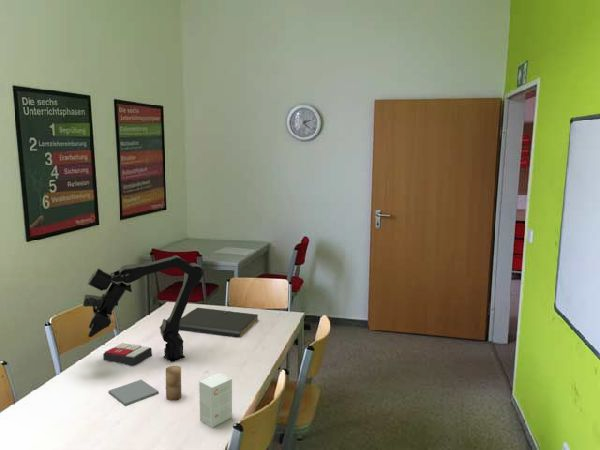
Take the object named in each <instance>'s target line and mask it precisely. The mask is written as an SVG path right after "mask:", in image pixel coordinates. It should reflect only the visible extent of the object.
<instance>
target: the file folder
mask: <svg viewBox="0 0 600 450" xmlns="http://www.w3.org/2000/svg"><path fill="white" fill-rule="evenodd" d="M258 317H259V315H258V314H255V313H248V312H239V311H231V310H223V309H222V310H221V309H214V308H206V307H205V308H204V307H196V308H195V309H192V310H190V311H189V312H187V314H185V315H183V316H182V317H181V320H180V326H179V331H187V332H194V333H202V334H209V335H216V336H217V335H218V336H223V337H225V336H226V337H231V336H232V337H233V338H238V337H240V336H241V335H242V334H243V335H244V334H246V333H247V331H249V330H250V329H251V328H252V327H253V326H254V325H255V324H256V323H257V322H258V319H259V318H258ZM256 321H257V322H256ZM255 322H256V323H255ZM254 323H255V324H254ZM253 324H254V325H253ZM252 325H253V326H252ZM251 326H252V327H251ZM250 327H251V328H250ZM249 328H250V329H249ZM243 335H242V336H243ZM242 336H241V337H242ZM241 337H240V338H241Z"/></svg>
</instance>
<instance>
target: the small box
mask: <svg viewBox="0 0 600 450" xmlns="http://www.w3.org/2000/svg"><path fill="white" fill-rule="evenodd" d="M198 382H199V383H198V385H199V387H198V389H199V391H198V393H199V420H200V421H201V422H202V423H203V424H205V425H207V426H208V427H211V428H212V429H213V428H215V427H216V426H218V425H221V424H222V423H224V422H226V421H227V420H229V419H232V418H233V378H231V377H230V376H227V375H225V374H223V373H221V372H218V373H215V374H213V375H211V376H209V377H206V378H204V379H202V380H200V381H199V380H198Z"/></svg>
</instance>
